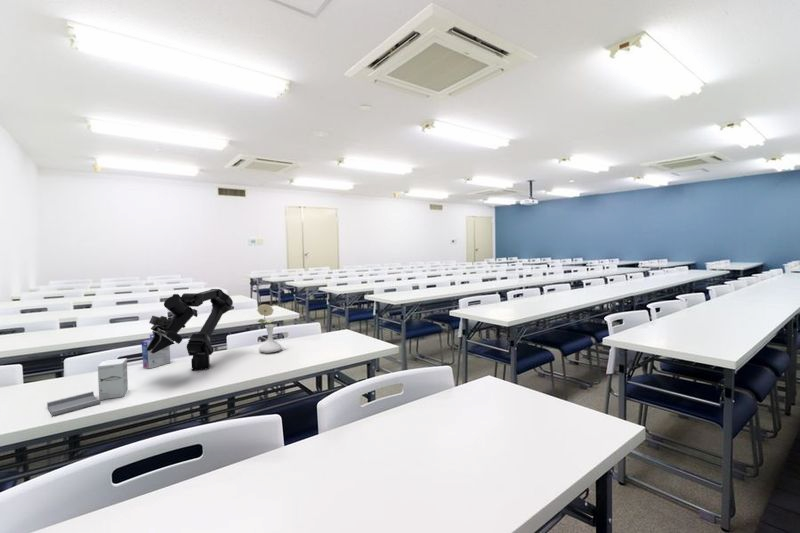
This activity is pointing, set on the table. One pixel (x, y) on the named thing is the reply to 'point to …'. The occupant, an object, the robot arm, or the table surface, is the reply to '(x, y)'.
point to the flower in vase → (270, 343)
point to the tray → (72, 403)
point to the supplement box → (112, 378)
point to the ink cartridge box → (154, 355)
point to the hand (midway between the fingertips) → (149, 351)
